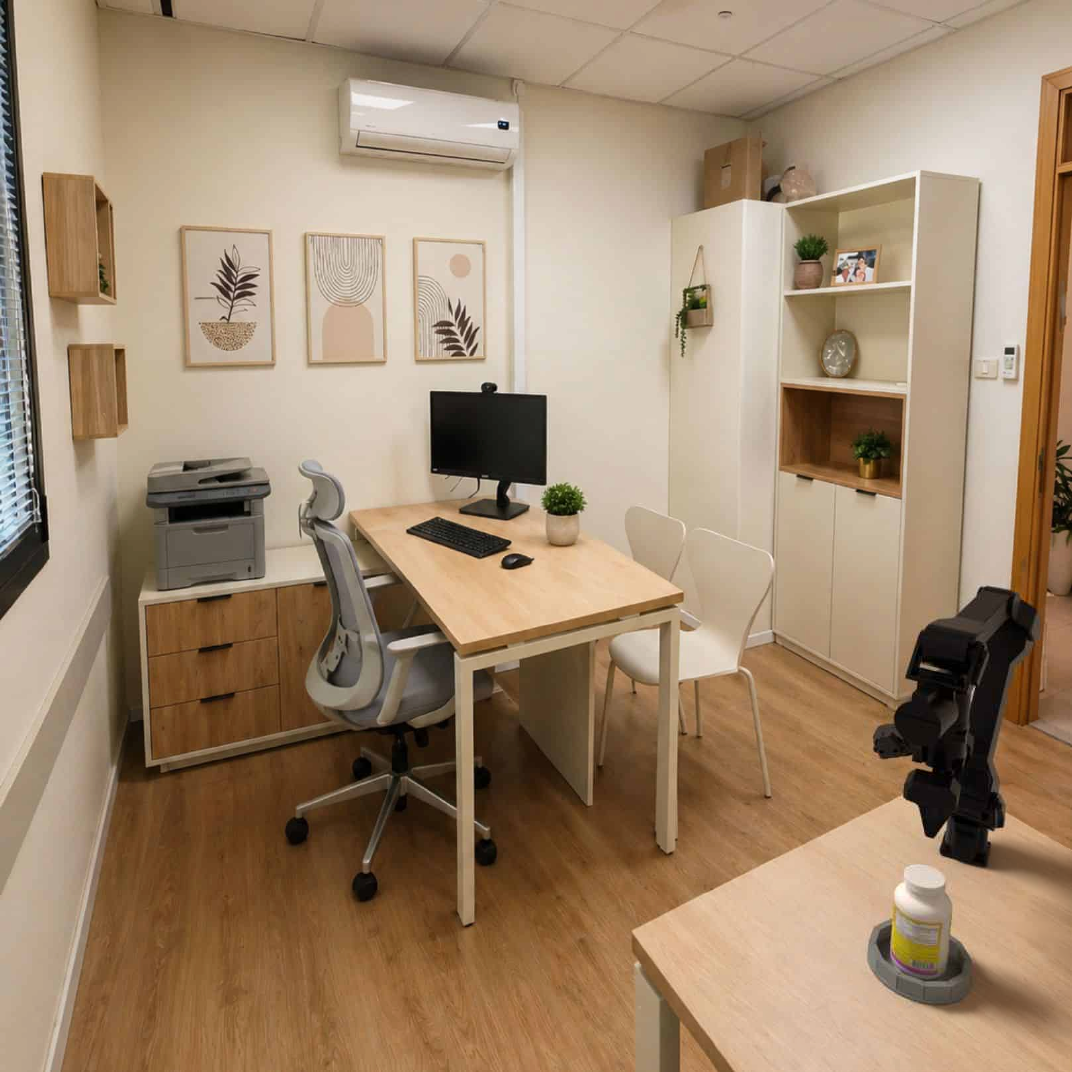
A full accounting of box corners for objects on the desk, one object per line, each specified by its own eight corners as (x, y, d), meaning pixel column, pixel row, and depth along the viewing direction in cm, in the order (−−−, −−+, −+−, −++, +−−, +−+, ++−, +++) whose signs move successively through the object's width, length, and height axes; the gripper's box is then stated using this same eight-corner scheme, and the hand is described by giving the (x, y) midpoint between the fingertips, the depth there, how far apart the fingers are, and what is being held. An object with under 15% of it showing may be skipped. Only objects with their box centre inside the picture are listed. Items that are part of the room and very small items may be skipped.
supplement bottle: (913, 936, 109) (921, 852, 106) (958, 969, 103) (967, 882, 100) (877, 955, 106) (884, 869, 103) (921, 990, 101) (930, 900, 97)
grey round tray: (878, 921, 113) (879, 906, 112) (976, 955, 106) (978, 938, 106) (857, 979, 103) (858, 963, 103) (964, 1020, 97) (966, 1002, 96)
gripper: (893, 678, 121) (886, 773, 125) (865, 731, 106) (858, 837, 110) (978, 694, 115) (968, 793, 119) (961, 753, 100) (950, 864, 104)
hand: (935, 819), depth 113 cm, fingers open, 9 cm apart
